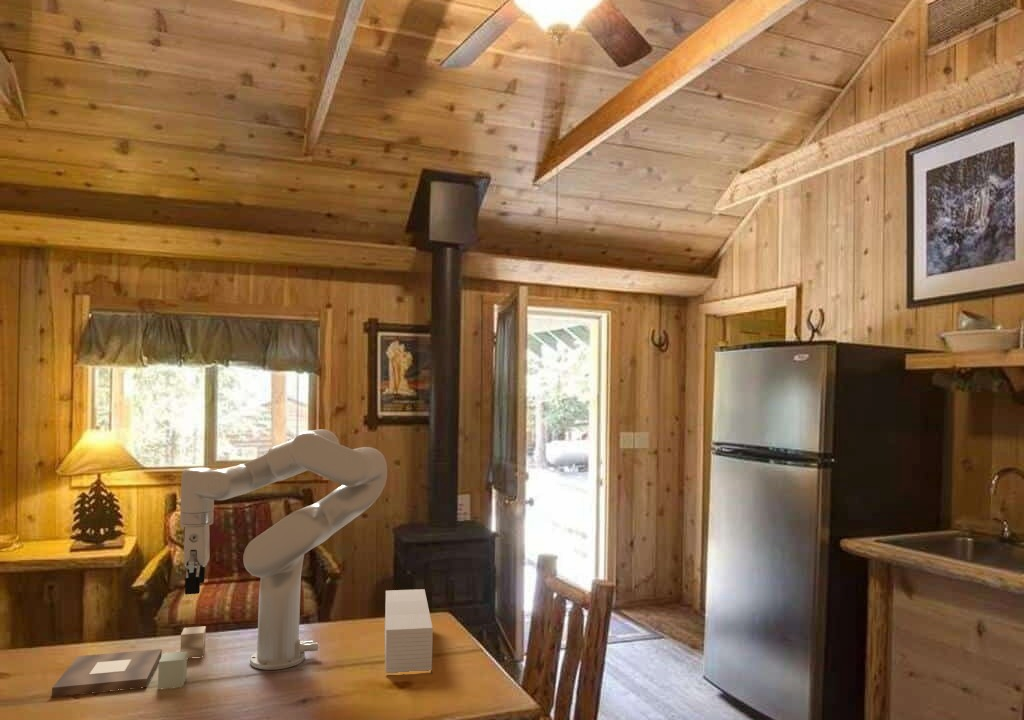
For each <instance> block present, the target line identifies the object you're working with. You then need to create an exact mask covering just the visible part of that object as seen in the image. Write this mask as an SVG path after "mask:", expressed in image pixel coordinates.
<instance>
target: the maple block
mask: <svg viewBox="0 0 1024 720" xmlns="http://www.w3.org/2000/svg"><path fill="white" fill-rule="evenodd" d="M182 629H183V630H182V632H181V634H180V650H179V652H187V658H192V657H202V656H204V655H205V652H206V637H207V635H206V634H207V633H206V631H207V630H206V629H207V626H205V625H204V626H203V625H202V626H191V627H190V626H189V627H184V628H182ZM204 651H205V652H204ZM203 654H204V655H203Z"/></svg>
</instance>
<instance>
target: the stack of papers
mask: <svg viewBox="0 0 1024 720" xmlns="http://www.w3.org/2000/svg"><path fill="white" fill-rule="evenodd" d="M426 594H427V593H426V590H425V588H424V589H422V588H421V589H398V590H397V589H396V590H395V589H394V590H393V589H392V590H391V589H390V590H385V604H384V605H385V607H384V608H385V610H384V611H385V614H384V656H385V657H384V660H385V661H384V663H385V666H384V667H385V670H384V671H385V672H386V673H398V672H409V671H429V670H432V671H433V638H434V637H433V636H434V633H433V631H434V630H433V629H434V627H433V623H432V618H431V614H430V613H431V612H430V610H429V604H428V600H427V595H426ZM385 672H384V673H385Z"/></svg>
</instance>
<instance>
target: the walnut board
mask: <svg viewBox="0 0 1024 720" xmlns="http://www.w3.org/2000/svg"><path fill="white" fill-rule="evenodd" d="M162 650H163V649H162V648H161V649H148V650H138V651H135V650H134V651H124V652H113V653H112V652H111V653H100V654H90V655H89V654H88V655H77V656H76V657H75V658H74V659H73V661H72V662H71V663H70V664H69V666H68V667H67V668H66V670H64V672H63V673H62V674H61V676H60V677H59V679H57V681H56V682H55V683H54V685H53V686H52V688H51V698H58V697H57V696H60V697H66V696H65V695H70V696H74V695H73V694H80V695H83V694H82V693H90V694H93V693H92V692H100V693H104V692H103V691H110V690H118V689H119V690H120V689H130V688H141V687H147V688H148V686H149V684H150V682H149V681H151V680H150V679H152V678H151V677H153V676H152V675H154V674H155V672H154V671H156V669H157V667H158V666H159V661H160V659H161V657H162V655H163V651H162ZM153 673H154V674H153ZM148 683H149V684H148ZM147 685H148V686H147ZM141 689H142V688H141ZM110 692H111V691H110Z"/></svg>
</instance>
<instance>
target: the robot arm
mask: <svg viewBox="0 0 1024 720" xmlns="http://www.w3.org/2000/svg"><path fill="white" fill-rule="evenodd" d="M307 471H309V472H312V473H314V474H316V475H318V476H319V477H323V478H326V479H327V480H329V481H332V482H334V483H337V484H339V485H340V486H338V487H337V488H335V489H333V490H332V491H331V492H330V493H328V494H327V495H326V496H324V497H323V498H321V499H320V500H318V501H316V502H314V503H313V504H310V505H307V506H304V507H303V508H299V509H297V510H295V511H293V512H291V513H289V514H288V515H286V516H285V517H284V518H282V519H280V520H279V521H277V522H276V523H275V524H273V525H272V526H270V527H268V528H267V529H266V530H264V531H263V532H262V533H260V534H259V535H257V536H255V537H254V538H253V539H252V540H251V541H250V542H248V544H247V546H246V547H245V549H244V553H243V557H242V558H243V559H242V562H243V566H244V568H245V570H246V571H247V572H248V573H249V574H250V575H251V576H254V577H257V578H260V580H259V589H258V592H259V593H258V610H257V611H258V612H257V614H258V616H257V618H258V619H257V643H256V645H257V647H256V648H257V649H256V651H255V652H254V653H253V654H252V655H251V656H250V658H249V665H251V667H253V668H255V669H259V670H265V671H266V670H267V671H273V670H282V669H283V670H284V669H288V668H292V667H294V666H297V665H299V664H300V663H302V662H303V661H304V660H305V658H306V653H305V652H318V650H319V643H318V642H314V641H313V640H306V641H303V639H302V640H301V635H300V633H299V632H300V613H301V612H300V609H301V583H302V582H301V581H302V572H303V564H304V559H305V554H306V553H308V552H310V551H312V549H314V548H316V547H318V546H319V545H321V544H323V543H324V542H326V541H327V540H328V539H329V538H331V536H333V535H334V534H335V533H337V532H338V531H339V530H340V529H342V528H343V527H345V526H346V525H348V524H349V523H351V522H352V521H353V520H355V519H356V518H357V517H359V516H361V514H363V513H364V512H366V511H367V510H368V509H369V508H370V507H371V506H372V505H373V504H374V503H376V501H377V500H378V498H379V497H380V496H381V494H382V492H383V490H384V488H385V486H386V483H387V478H388V466H387V461H386V458H385V456H384V454H383V453H382V452H381V451H380V450H379V449H376V448H374V447H371V446H362V447H358V448H353V449H352V448H350V447H347V446H345V445H342V444H340V441H339V438H338V437H337V436H336V433H334V432H332V431H331V430H330V429H329V430H328V429H325V428H324V429H322V428H321V429H314V430H311V429H310V430H306V431H303V432H301V433H299V434H297V435H296V436H295V438H293V439H291V440H288V441H285V442H282V443H279V444H278V445H274V446H272V447H270V448H269V449H268V450H267V453H266V454H263V455H262V456H260V457H259V456H258V457H257V458H255V459H254V458H253V459H251V460H249V461H246V462H244V463H240V464H238V465H233V466H229V467H224V468H220V469H212V468H210V467H190V468H186V469H184V470H183V471H182V473H181V480H180V481H181V485H180V486H181V487H180V518H179V519H180V520H179V526H180V527H183V528H184V544H183V545H184V547H183V563H184V567H185V568H186V573H185V577H184V578H185V579H184V581H185V582H184V595H186V596H187V595H196V594H197V595H198V594H200V587H201V584H203V583H205V574H206V572H205V571H206V568H205V567H206V566H207V565H208V563H209V562H210V557H211V556H210V555H211V554H210V526H211V525H213V524H214V515H215V514H214V509H215V508H214V507H215V501H225V500H228V499H232V498H235V497H239V496H242V495H246V494H249V493H251V492H254V491H256V490H258V489H261V488H263V487H266V486H268V485H272V484H275V483H276V482H282V481H285V480H286V479H290V478H292V477H294V476H297V475H300V474H302V473H305V472H307Z"/></svg>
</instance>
